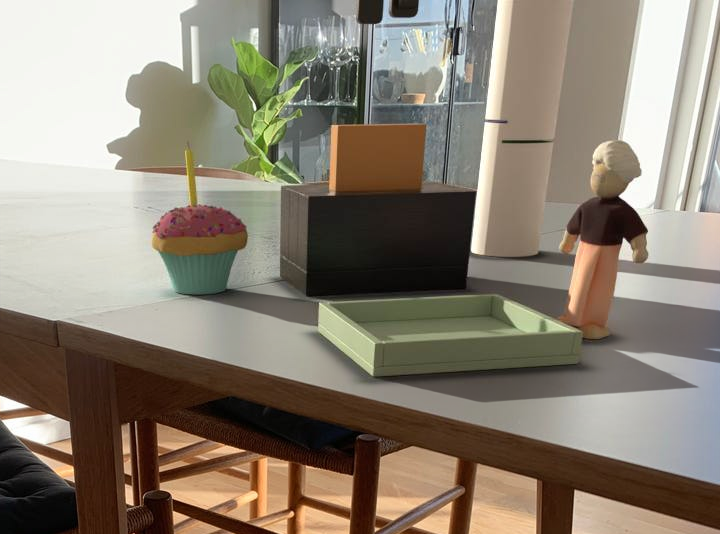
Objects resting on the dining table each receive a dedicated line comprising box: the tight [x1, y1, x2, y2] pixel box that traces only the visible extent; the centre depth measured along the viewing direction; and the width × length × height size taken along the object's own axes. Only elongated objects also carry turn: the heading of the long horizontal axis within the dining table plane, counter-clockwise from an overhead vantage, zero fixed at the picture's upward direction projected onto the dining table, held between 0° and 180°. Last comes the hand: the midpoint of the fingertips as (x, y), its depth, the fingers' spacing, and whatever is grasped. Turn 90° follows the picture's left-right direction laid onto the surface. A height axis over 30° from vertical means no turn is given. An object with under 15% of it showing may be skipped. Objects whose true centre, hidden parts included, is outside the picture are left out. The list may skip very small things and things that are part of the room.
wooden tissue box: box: [279, 180, 477, 297], centre depth 87 cm, size 16×10×8 cm, turn 101°
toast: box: [328, 123, 427, 191], centre depth 85 cm, size 8×2×11 cm, turn 101°
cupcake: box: [151, 139, 249, 296], centre depth 83 cm, size 9×8×12 cm
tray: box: [317, 293, 583, 378], centre depth 66 cm, size 14×13×2 cm
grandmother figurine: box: [554, 139, 649, 340], centre depth 67 cm, size 8×4×13 cm, turn 40°
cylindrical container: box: [470, 0, 575, 258], centre depth 97 cm, size 7×7×25 cm
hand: (385, 21), depth 78 cm, fingers open, 8 cm apart
